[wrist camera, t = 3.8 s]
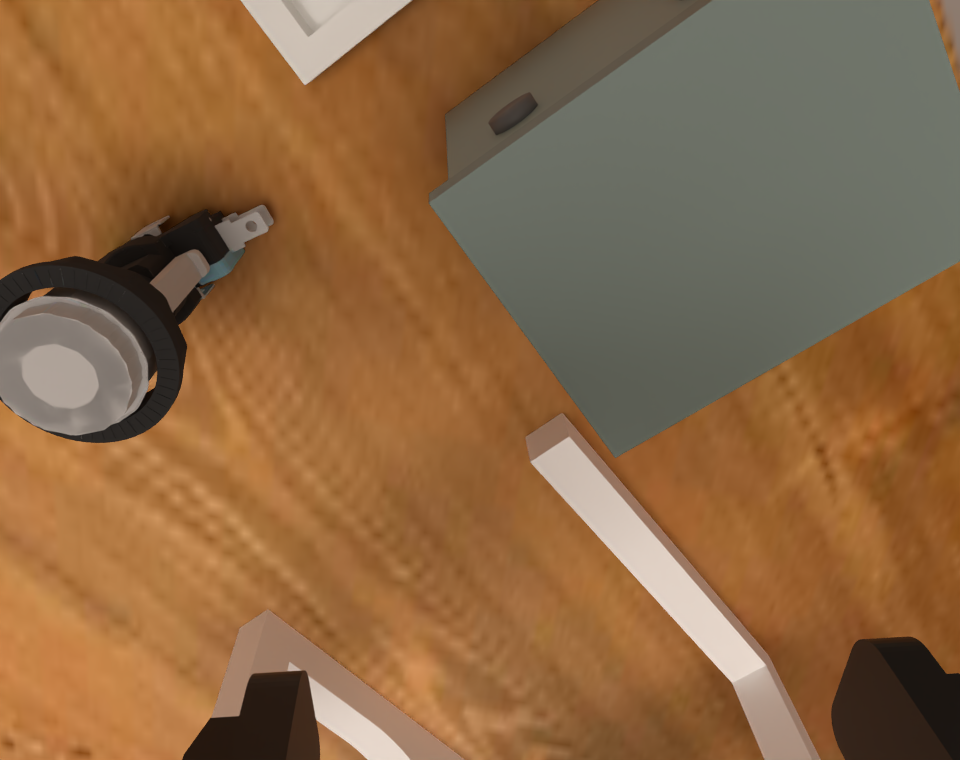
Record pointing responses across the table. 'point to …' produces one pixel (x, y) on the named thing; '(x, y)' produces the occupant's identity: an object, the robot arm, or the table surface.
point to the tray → (319, 28)
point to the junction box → (705, 190)
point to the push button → (112, 326)
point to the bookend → (637, 544)
